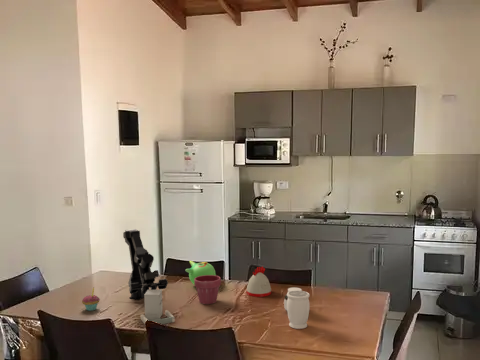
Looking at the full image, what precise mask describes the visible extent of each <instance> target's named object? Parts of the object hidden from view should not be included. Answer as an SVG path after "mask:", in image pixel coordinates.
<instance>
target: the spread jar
mask: <svg viewBox="0 0 480 360" xmlns="http://www.w3.org/2000/svg"><path fill="white" fill-rule="evenodd" d="M290 291H303V289H302V288H300V287H288V288H287V293H288V292H290ZM287 293H286V294H285V296H284V298H283V299H284V300H283V304H284V305H283V307H284V310H285V311H286V312H287V299H288V297H287Z"/></svg>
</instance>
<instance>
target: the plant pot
mask: <svg viewBox="0 0 480 360" xmlns="http://www.w3.org/2000/svg"><path fill="white" fill-rule="evenodd" d="M221 283H222V282H221V277H220V276H219V275H203V276H198V277H196V278H195V279H194V284H193V285H194V287H195V289H196V292H197V293H196V294H197V297H198V302H199V303H200V304H203V305H211V304H215V303H216V302H217V299H218V294H219V290H220V286H221Z"/></svg>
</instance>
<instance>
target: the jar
mask: <svg viewBox="0 0 480 360" xmlns="http://www.w3.org/2000/svg"><path fill="white" fill-rule="evenodd" d="M286 294H287V297H288V299H287V311H286V313H287V317H288V322H289V323H288V326H289V327H291V328H293V329H295V330H301V329H305V328H307V327H308V324H307V323H308V319H309V315H310V314H309V313H310V307H311V304H310V300H309V298H310V293H309V292H307V291H304V290H302V291H290V292H288V291H287V293H286Z"/></svg>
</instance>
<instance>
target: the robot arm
mask: <svg viewBox="0 0 480 360" xmlns="http://www.w3.org/2000/svg"><path fill="white" fill-rule="evenodd" d="M122 233H123V239H124V242H125V243H126V244H127V246H128V249H129V250H128V251H129V257H130V258H129V259H130V262H131V270H132V271H131V273H130V276H129V279H128V287H129V289H128V291H129V294H130V297H129V299H131V300H136V301H137V300H138V301H139V300H141V299H143V298H144V295H145V293H146V292H147V290H165V289H167V287H168V284H169V281H168V279H167V278H163V279H162V278H161V279H160V278H159V279H158V282H156V278H158V277H160V274H159V270H153V271H152V270H151V268H152V266H153V263H154V260H155V259H154V256H153V254H151V253H149V251H148V250H147V249H146V248H144V245H143V241H142V238H141V230H138V229H136V228H135V229H125V230H124V231H123V232H122Z"/></svg>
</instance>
